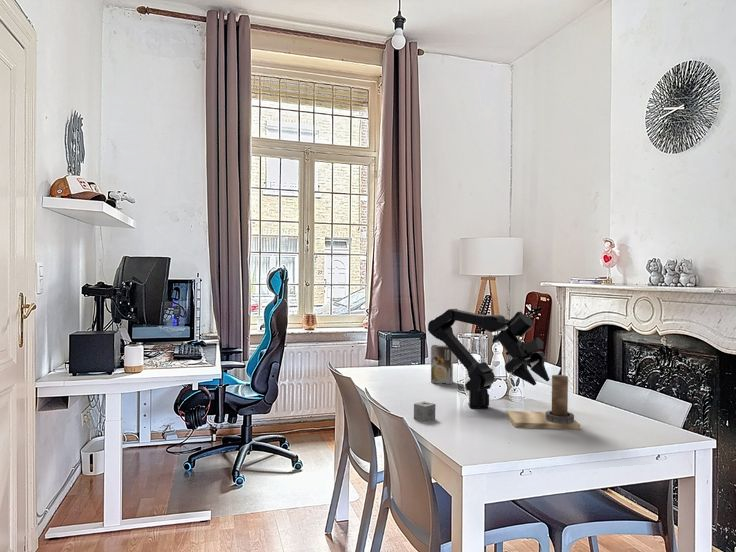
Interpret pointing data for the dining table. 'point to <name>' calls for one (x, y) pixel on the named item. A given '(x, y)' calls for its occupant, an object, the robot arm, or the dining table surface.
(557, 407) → the walnut post
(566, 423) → the oak socket board
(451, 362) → the coffee box
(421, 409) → the dice cube
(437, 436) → the dining table surface
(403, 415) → the dining table surface
